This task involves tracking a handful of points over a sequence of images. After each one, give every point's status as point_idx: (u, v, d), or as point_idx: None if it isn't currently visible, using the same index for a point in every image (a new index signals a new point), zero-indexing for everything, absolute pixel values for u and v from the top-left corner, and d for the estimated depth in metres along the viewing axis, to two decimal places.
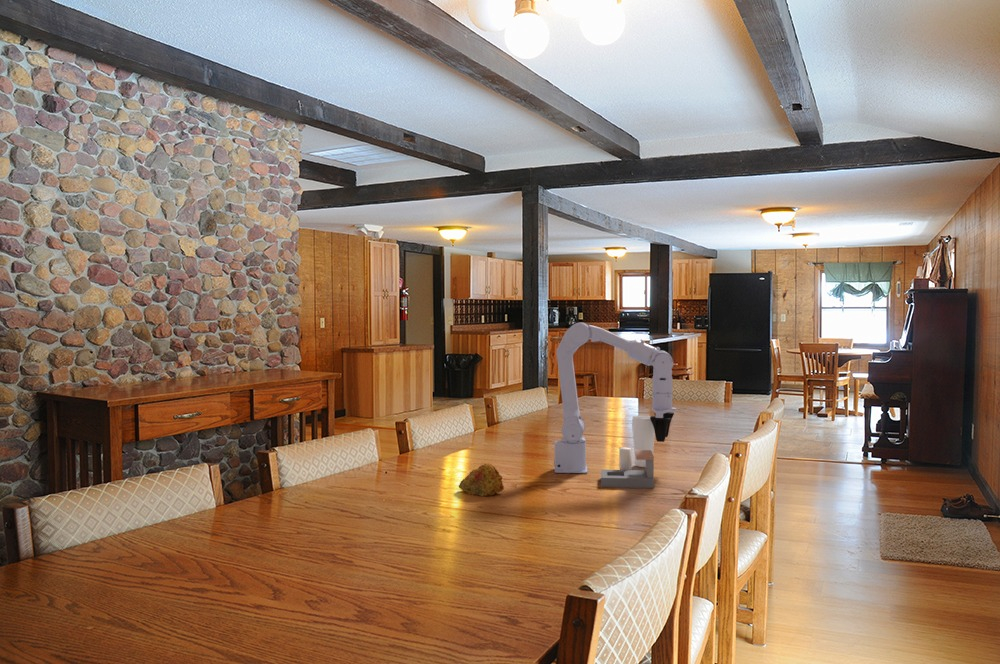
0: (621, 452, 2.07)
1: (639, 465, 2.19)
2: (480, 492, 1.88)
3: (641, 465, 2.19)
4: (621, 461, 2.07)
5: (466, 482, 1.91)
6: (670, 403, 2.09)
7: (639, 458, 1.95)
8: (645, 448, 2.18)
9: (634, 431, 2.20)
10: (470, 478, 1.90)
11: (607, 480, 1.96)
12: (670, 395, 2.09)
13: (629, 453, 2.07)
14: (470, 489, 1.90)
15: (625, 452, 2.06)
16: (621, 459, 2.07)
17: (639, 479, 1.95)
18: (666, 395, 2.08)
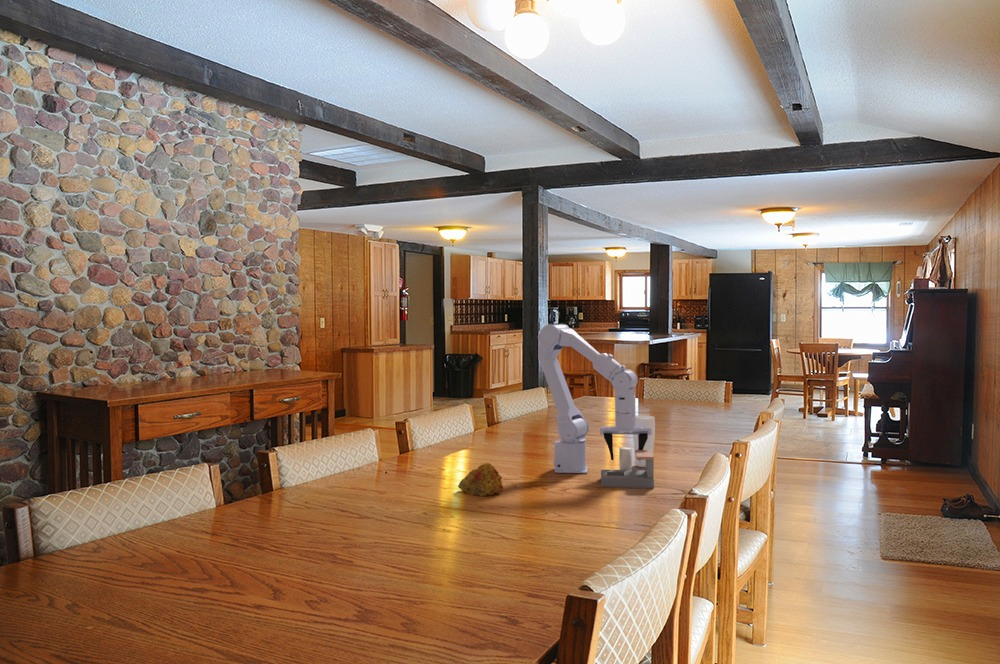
0: (621, 452, 2.07)
1: (639, 465, 2.19)
2: (479, 492, 1.88)
3: (641, 465, 2.19)
4: (621, 461, 2.07)
5: (465, 482, 1.91)
6: (620, 423, 2.05)
7: (639, 458, 1.95)
8: (645, 448, 2.18)
9: None
10: (469, 478, 1.90)
11: (607, 480, 1.96)
12: (620, 415, 2.05)
13: (629, 453, 2.07)
14: (470, 489, 1.90)
15: (625, 452, 2.06)
16: (621, 459, 2.07)
17: (639, 479, 1.95)
18: (616, 414, 2.06)
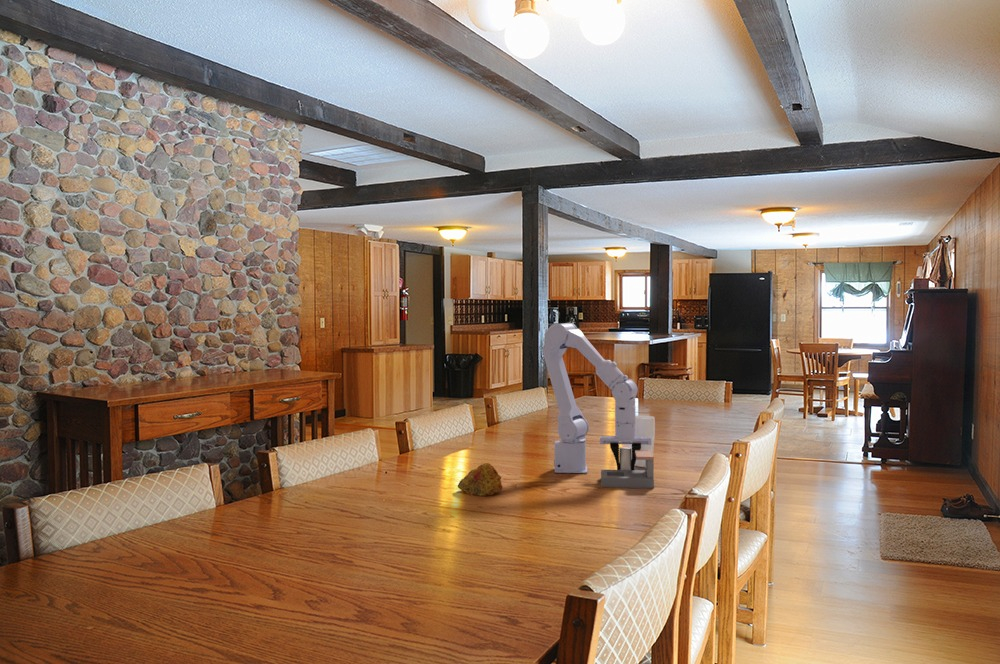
0: (621, 452, 2.07)
1: (639, 465, 2.19)
2: (479, 492, 1.88)
3: (641, 465, 2.19)
4: (621, 461, 2.07)
5: (465, 482, 1.91)
6: (620, 433, 2.05)
7: (639, 458, 1.95)
8: (645, 448, 2.18)
9: None
10: (469, 478, 1.90)
11: (607, 480, 1.96)
12: (620, 425, 2.05)
13: (629, 453, 2.07)
14: (469, 489, 1.90)
15: (625, 452, 2.06)
16: (621, 459, 2.07)
17: (639, 479, 1.95)
18: (616, 424, 2.07)
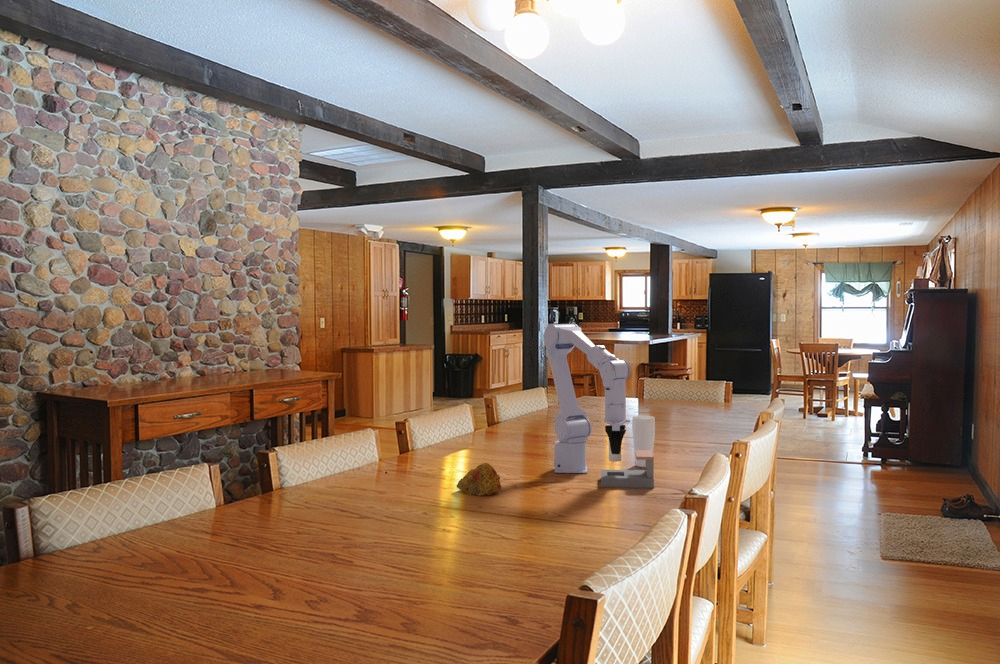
0: None
1: (639, 465, 2.19)
2: (477, 492, 1.89)
3: (641, 465, 2.19)
4: None
5: (464, 482, 1.91)
6: (624, 414, 1.98)
7: (639, 458, 1.95)
8: (645, 448, 2.18)
9: (634, 431, 2.20)
10: (468, 478, 1.90)
11: (607, 480, 1.96)
12: (624, 406, 1.98)
13: None
14: (468, 489, 1.90)
15: None
16: None
17: (639, 479, 1.95)
18: (620, 406, 1.97)
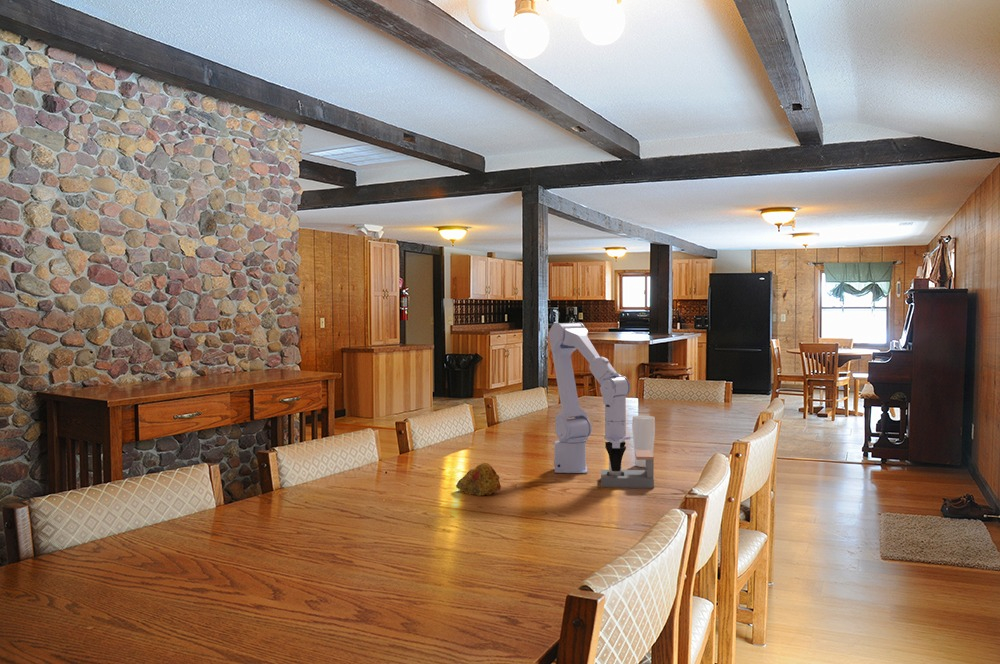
0: None
1: (639, 465, 2.19)
2: (477, 492, 1.89)
3: (641, 465, 2.19)
4: None
5: (463, 482, 1.91)
6: (624, 431, 1.99)
7: (639, 458, 1.95)
8: (645, 448, 2.18)
9: (634, 431, 2.20)
10: (467, 478, 1.91)
11: (607, 480, 1.96)
12: (624, 423, 1.98)
13: None
14: (468, 489, 1.90)
15: None
16: None
17: (639, 479, 1.95)
18: (621, 423, 1.98)
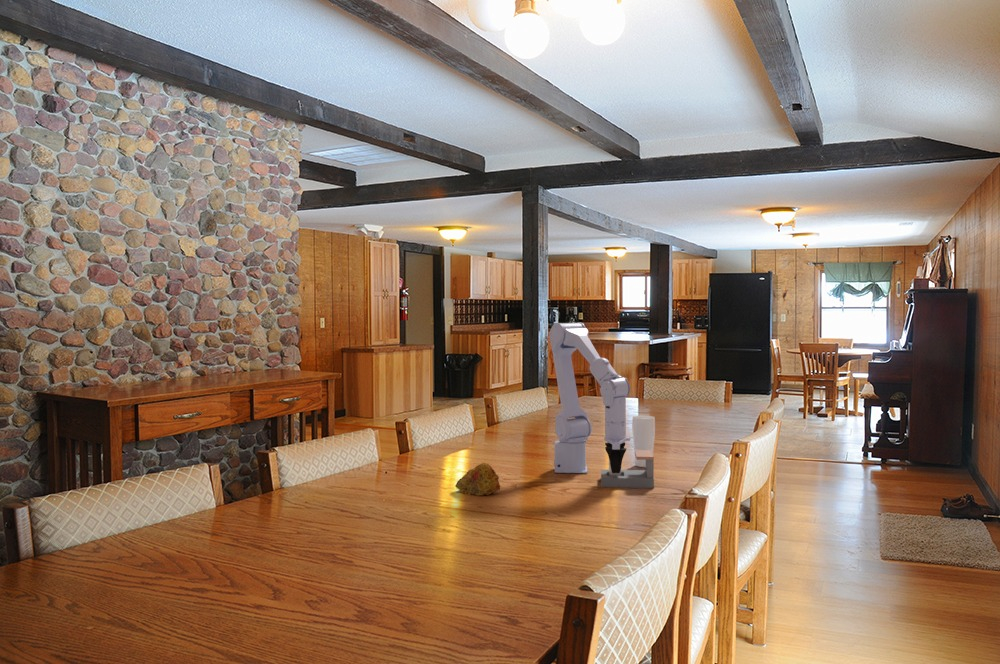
0: None
1: (639, 465, 2.19)
2: (476, 492, 1.89)
3: (641, 465, 2.19)
4: None
5: (463, 482, 1.91)
6: (624, 432, 1.99)
7: (639, 458, 1.95)
8: (645, 448, 2.18)
9: (634, 431, 2.20)
10: (467, 478, 1.91)
11: (607, 480, 1.96)
12: (624, 424, 1.98)
13: None
14: (467, 488, 1.90)
15: None
16: None
17: (639, 479, 1.95)
18: (621, 424, 1.98)
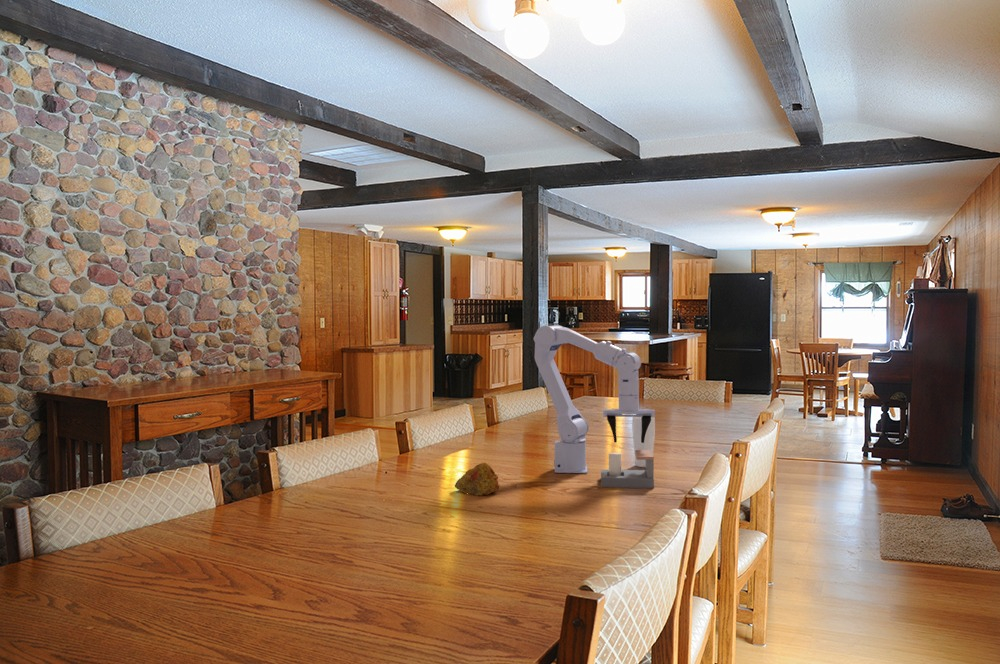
0: (618, 458, 1.99)
1: (639, 465, 2.19)
2: (475, 491, 1.89)
3: (641, 465, 2.19)
4: (619, 467, 1.99)
5: (462, 481, 1.91)
6: (624, 405, 2.05)
7: (639, 458, 1.95)
8: (645, 448, 2.18)
9: (634, 431, 2.20)
10: (466, 477, 1.91)
11: (607, 480, 1.96)
12: (624, 397, 2.05)
13: None
14: (466, 488, 1.91)
15: None
16: (619, 465, 1.99)
17: (639, 479, 1.95)
18: (620, 396, 2.06)
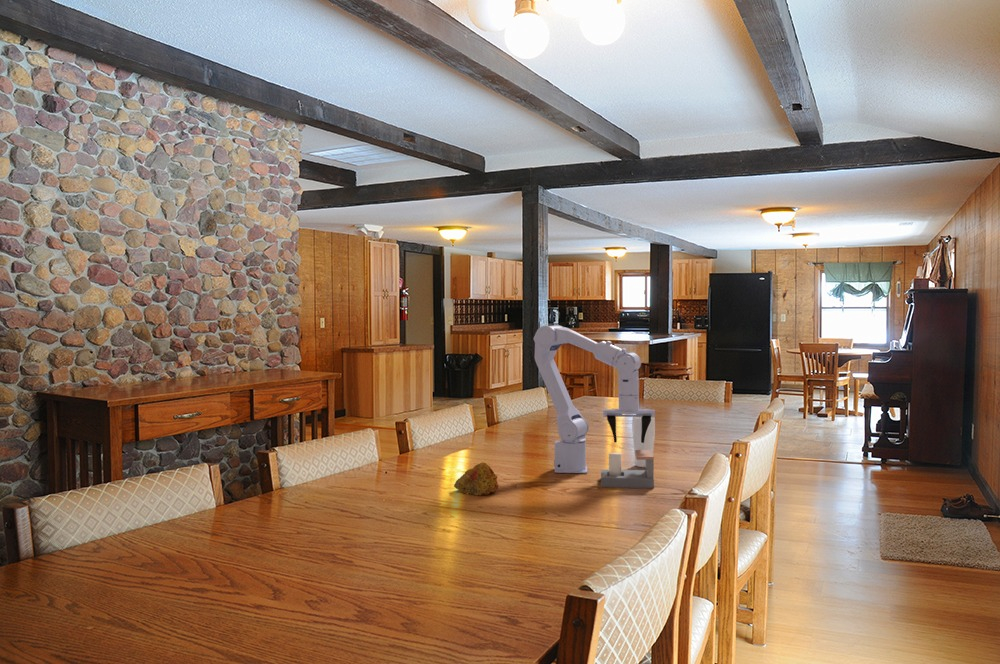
0: (618, 459, 1.99)
1: (639, 465, 2.19)
2: (475, 491, 1.89)
3: (641, 465, 2.19)
4: (619, 467, 1.99)
5: (461, 481, 1.91)
6: (624, 405, 2.05)
7: (639, 458, 1.95)
8: (645, 448, 2.18)
9: (634, 431, 2.20)
10: (465, 477, 1.91)
11: (607, 480, 1.96)
12: (624, 397, 2.05)
13: None
14: (465, 488, 1.91)
15: None
16: (619, 465, 1.99)
17: (639, 479, 1.95)
18: (620, 396, 2.06)
